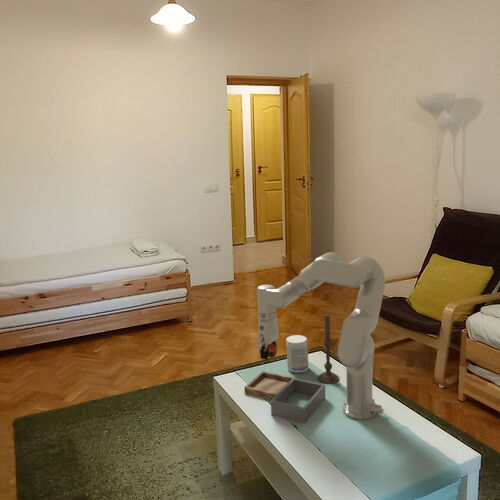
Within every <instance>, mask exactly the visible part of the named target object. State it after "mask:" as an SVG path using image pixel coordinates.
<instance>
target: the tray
mask: <svg viewBox="0 0 500 500" xmlns="http://www.w3.org/2000/svg"><path fill="white" fill-rule="evenodd" d="M293 378H294V377H292V376H286V375H283V374H278V373H273V372H269V371H265V370H262V371H261V372H260V373H259V374H257V376H255V377H254V378H253V379H251V381H250V382H248V384H246V385H245V386H244V388H243V389H244V394H247V395H252V396H256V397H259V398H264V399H268V400H270V401H271V400H272V399H273V398H274V397H275V396H276V395H277V394H278V393H279V392H280V391H281V390H282V389H283V388H284V387H285V386H286V385H287V384H288V383H289V382H290V381H291V380H292V379H293Z"/></svg>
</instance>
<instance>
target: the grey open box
mask: <svg viewBox="0 0 500 500" xmlns="http://www.w3.org/2000/svg"><path fill="white" fill-rule="evenodd" d="M292 378H293V379H292V380H291V381H290V382H289V383H288V384H287V385H286V386H285V387H284V388H283V389H282V390H281V391H280V392H279V393H278V394H277V395H276V396H275V397H274V398H273V399H272V400H271V399H270V412H271V413H270V414H271V416H273V417H278V418H281V419H285V420H289V421H293V422H295V423H300V424H304V425H306V424H307V423H308V421H309V420H310V419H311V418H312V417H313V415H314V414H315V412H317V410H318V409H319V407H320V406H321V405H322V404H323V403H324V401H325V400H326V384H324V383H318V382H313V381H308V380H305V379H299V378H296V377H292ZM295 394H299V395H303V396H307V397H311V398H310V399H309V400H308V401H307V403H306V404H304V406H298V405H295V404H291V403H288V401H289V400H290V399H291V398H292V397H293V396H294V395H295Z"/></svg>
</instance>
